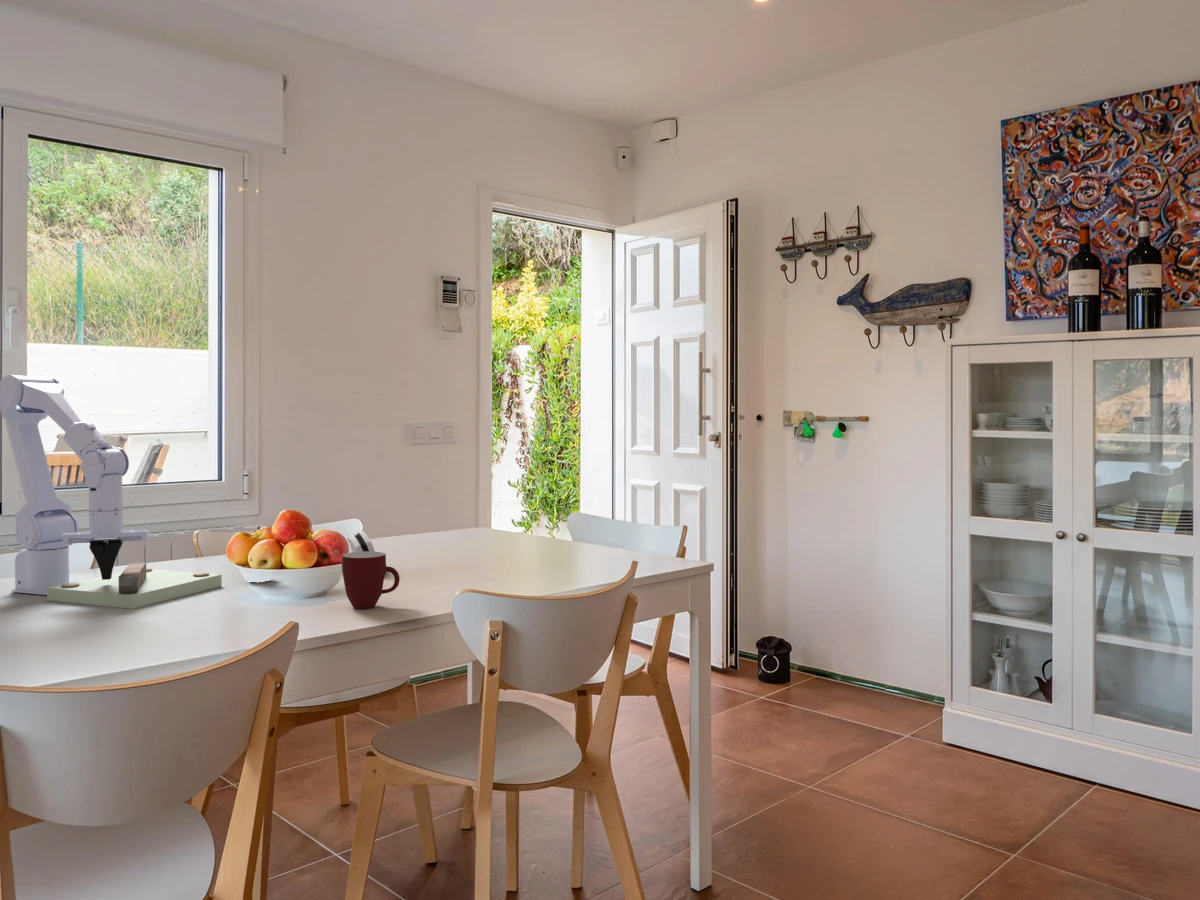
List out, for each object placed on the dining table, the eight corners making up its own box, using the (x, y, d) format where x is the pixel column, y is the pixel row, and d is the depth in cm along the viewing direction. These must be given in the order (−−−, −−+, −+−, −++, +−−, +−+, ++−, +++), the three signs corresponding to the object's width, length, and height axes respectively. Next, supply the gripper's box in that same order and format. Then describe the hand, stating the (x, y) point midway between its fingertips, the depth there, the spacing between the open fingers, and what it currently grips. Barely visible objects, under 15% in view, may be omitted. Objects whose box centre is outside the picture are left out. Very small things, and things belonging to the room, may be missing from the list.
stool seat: (47, 600, 169) (46, 586, 169) (142, 579, 191) (142, 567, 191) (132, 608, 163) (132, 593, 162) (221, 586, 184) (221, 573, 184)
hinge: (389, 574, 200) (374, 533, 199) (369, 582, 199) (353, 541, 197) (377, 562, 216) (363, 525, 214) (358, 570, 214) (344, 532, 212)
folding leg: (136, 592, 164) (136, 577, 164) (117, 594, 163) (117, 578, 162) (146, 576, 180) (146, 562, 180) (129, 577, 179) (129, 563, 179)
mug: (395, 600, 172) (395, 549, 172) (402, 608, 165) (402, 556, 164) (339, 604, 168) (339, 552, 168) (344, 613, 161) (344, 559, 160)
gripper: (58, 513, 165) (60, 584, 166) (145, 510, 171) (145, 580, 171) (66, 509, 172) (67, 578, 172) (148, 507, 177) (149, 573, 178)
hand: (106, 578), depth 172 cm, fingers closed
